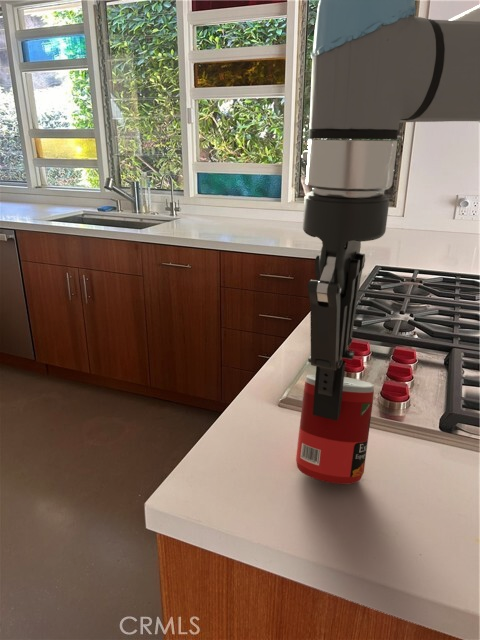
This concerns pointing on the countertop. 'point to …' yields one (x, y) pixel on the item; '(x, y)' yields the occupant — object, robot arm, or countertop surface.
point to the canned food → (335, 434)
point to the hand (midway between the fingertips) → (326, 414)
